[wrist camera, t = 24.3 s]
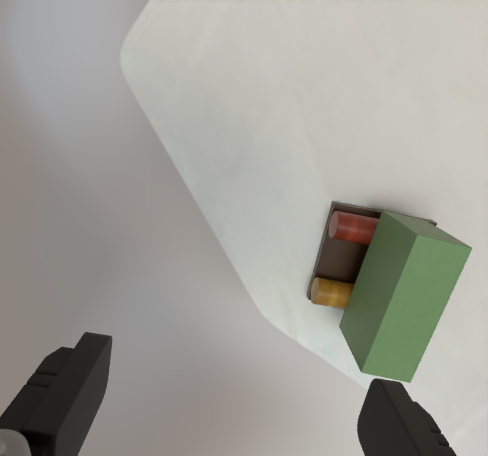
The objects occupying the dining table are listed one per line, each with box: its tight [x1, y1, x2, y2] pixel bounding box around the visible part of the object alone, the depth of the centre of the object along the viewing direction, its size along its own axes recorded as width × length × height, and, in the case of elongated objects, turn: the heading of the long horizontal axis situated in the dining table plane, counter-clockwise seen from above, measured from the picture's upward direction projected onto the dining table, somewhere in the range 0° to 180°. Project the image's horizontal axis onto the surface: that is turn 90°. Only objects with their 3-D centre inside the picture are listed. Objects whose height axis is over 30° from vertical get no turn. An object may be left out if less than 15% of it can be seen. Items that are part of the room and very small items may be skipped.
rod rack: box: [307, 202, 437, 309], centre depth 43 cm, size 12×12×4 cm
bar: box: [339, 210, 472, 382], centre depth 38 cm, size 5×14×8 cm, turn 165°
